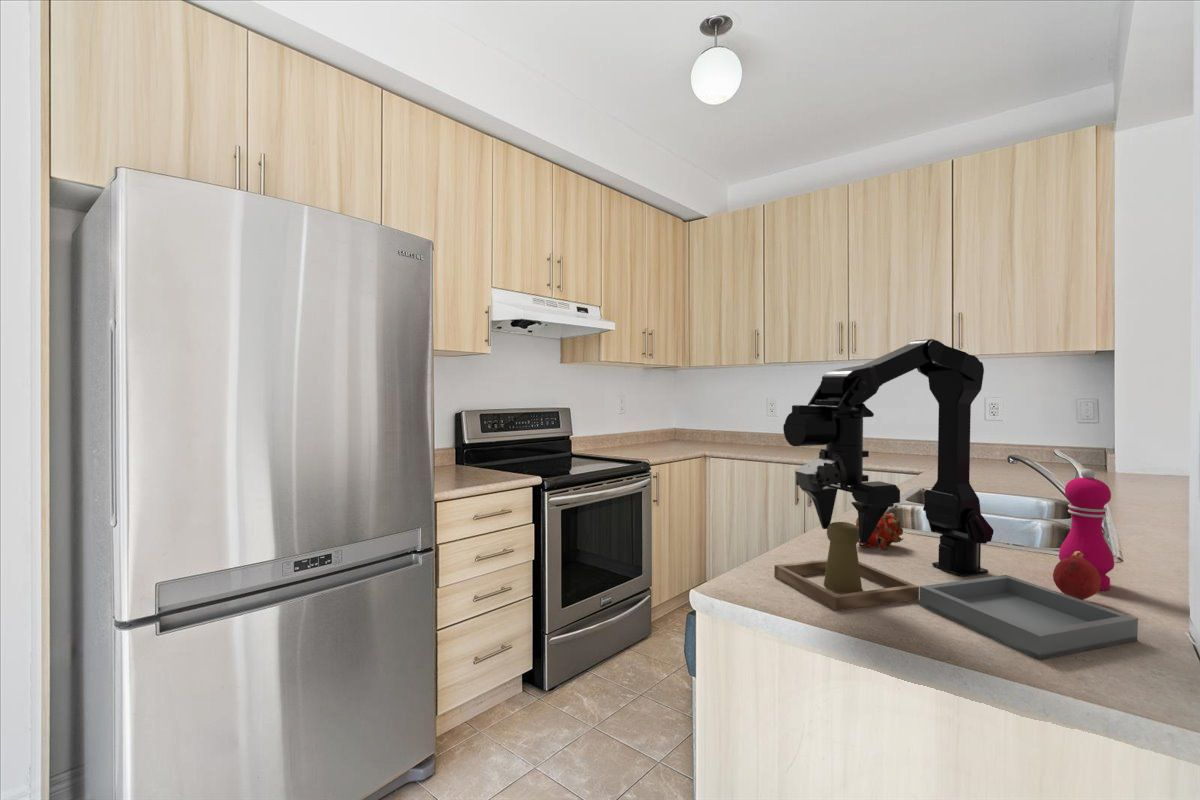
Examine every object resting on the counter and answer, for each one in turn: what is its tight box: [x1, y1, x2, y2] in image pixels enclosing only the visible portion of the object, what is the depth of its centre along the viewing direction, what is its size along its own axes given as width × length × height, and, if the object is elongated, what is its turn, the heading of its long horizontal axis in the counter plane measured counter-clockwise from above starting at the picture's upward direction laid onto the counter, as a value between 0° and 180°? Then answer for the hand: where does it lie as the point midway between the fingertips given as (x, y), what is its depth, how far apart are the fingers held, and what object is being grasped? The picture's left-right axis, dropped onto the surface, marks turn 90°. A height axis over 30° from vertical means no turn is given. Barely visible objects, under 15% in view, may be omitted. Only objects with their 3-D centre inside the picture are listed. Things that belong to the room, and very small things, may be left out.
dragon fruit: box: [855, 512, 904, 551], centre depth 118 cm, size 8×8×12 cm
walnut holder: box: [774, 559, 920, 612], centre depth 95 cm, size 16×16×2 cm
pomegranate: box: [1052, 551, 1101, 601], centre depth 88 cm, size 6×6×8 cm
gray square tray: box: [919, 574, 1139, 661], centre depth 81 cm, size 18×18×3 cm
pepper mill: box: [1058, 468, 1115, 591], centre depth 96 cm, size 7×7×20 cm
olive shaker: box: [823, 521, 863, 594], centre depth 95 cm, size 6×6×11 cm
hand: (843, 535), depth 95 cm, fingers open, 9 cm apart
